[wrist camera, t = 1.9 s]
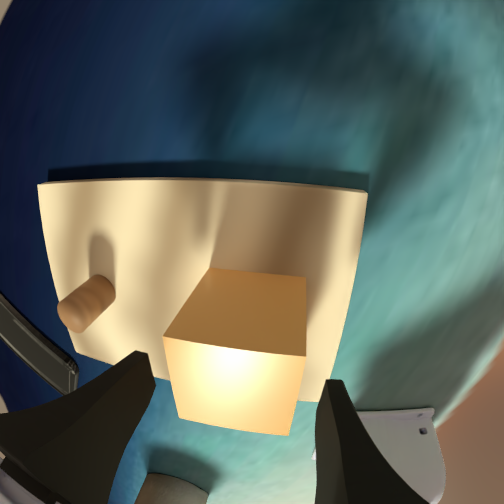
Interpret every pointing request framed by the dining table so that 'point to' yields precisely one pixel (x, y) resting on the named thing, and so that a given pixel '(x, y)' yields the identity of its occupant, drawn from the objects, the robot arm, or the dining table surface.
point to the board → (195, 256)
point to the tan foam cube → (239, 350)
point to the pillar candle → (169, 491)
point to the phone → (37, 350)
